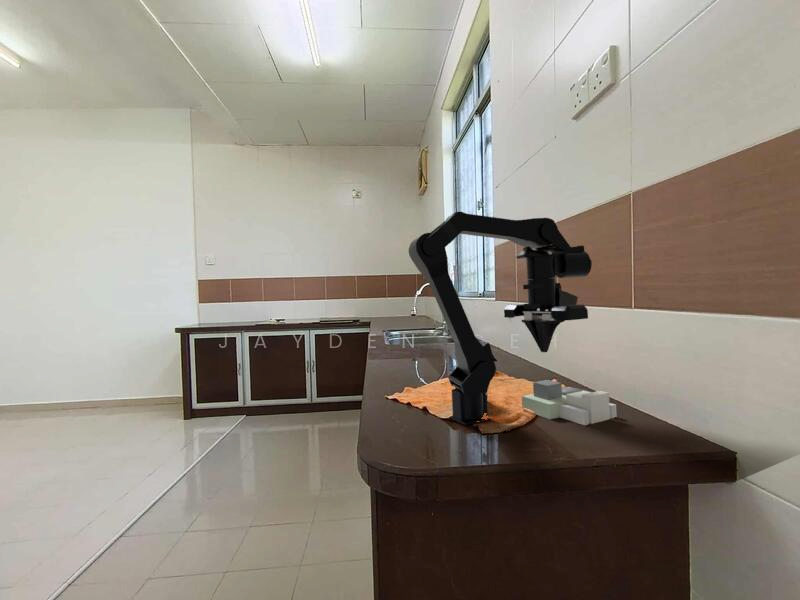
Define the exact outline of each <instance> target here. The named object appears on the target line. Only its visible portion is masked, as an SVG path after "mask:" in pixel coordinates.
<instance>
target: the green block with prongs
mask: <svg viewBox="0 0 800 600" xmlns="http://www.w3.org/2000/svg"><path fill="white" fill-rule="evenodd" d="M532 385H533V393H530V394H526V395H521V408H522V407H523V408H527V409H530V410H532V411H534V412H535V413H536V414H535V415H536V416H538V417H539V416H540V417H542V418H544V419H548V420H554V419H558V418H561V419H564V420H566V421H570V422H573V423H575V424H580V425H582V426H587V425H589V424H590V423H589V411H586V410H583V409H579V408H576V407H572V406H569V405H566V394H571V393H575V392H580V391H586V392H589V391H587V390H584V389H582V388H577V387H571V386H566V387H563V386H562V382H558V381H553V380H550V379H544V380H539V381H534V382H533V383H532ZM590 392H591V393H592V391H590ZM609 407H610V419H615V417H616V418H617V404H615V403H611V402H609Z"/></svg>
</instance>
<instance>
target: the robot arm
mask: <svg viewBox="0 0 800 600" xmlns="http://www.w3.org/2000/svg"><path fill="white" fill-rule="evenodd" d="M459 235H466V236H476V237H483V238H485V237H486V238H492V239H499V240H500V239H501V240H507V241H510V242H513V243H514V244H516V245H519V246H522V247H523V249H522V250H521V251H520V252H519V253H518V254H517V255H516V259H518V260H522V259H523V260H525V259H526V278H527V279H526V280H527V284H523V285H522V289H523V290H527V303H522V304H509V305H508V304H507V305H506V306H505V308H504V310H503V312H504V313H503V314H504V315H503V316H504V318H507V319H509V318H510V319H514V318H515V317H523V319H521V323H524V325H525V327H526V328H527V330H528V331H529V332H530V334H531V336H532V337H533V339H534V342H535V343H536V345H537V347H538V349H539V350H540V352H541V353H547V352H548V351H549V349H550V345H551V342H552V339H553V336H554V333H555V331H556V329H557V327H558V326H559V325H560V324H562V323H564V322H565V321H576V320H577V321H578V320H587V319H588V318H589V311H588V308H587V306H586V305H584V304H578V300H579V297H578V296H576V295H574V294H573V293H569V292H568V291H564V290H562V285H561V283H560V282H556V281H557V279H556V277H557V278H558V279H569V278H585V277H587V276H589V275H590V272H591V269H592V264H593V263H592V262H593V261H592V259H591V257H590V255H589V253H588V252H586V251H585V246H584V245H576V246H571V245H570V244H569V243H568V241H567V239H566V238H565V237H564V235H563V234H562V233H561V232H560V230H559V228H558V226H557V223H556V222H555V220H554V219H553V218H550V217H535V218H526V219H509V218H502V217H496V216H488V215H481V214H479V215H478V214H472V213H466V212H463V211H455V212H454V213H452V214H451V215H449V216H448V217H446V218H445V220H444V221H443V222H442V223H440V224H439V225H438V226H436V227H435V228H434V229H433V230H431V231H430V232H426V233H423V234H421V235H420V236H418V237H416V238H415V239H412V241H411V242H410V244H409V247H408V255H409V258H410V259H411V261H412V262H413V264H414V266H415V267H416V269H417V270H418V271H419V272H420V274H421V275H422V276H423V277H424V278H425V280H426V281H427V282H428V284H429V286H430V289H431V291H432V293H433V295H434V298H435V300H436V303H437V305H438V307H439V310H440V312H441V314H442V317H443V318H444V320H445V321H444V322H445V323H446V324H445V325H446V326H447V328H448V330H449V333H450V335H451V337H452V339H453V341H454V342H453V343H454V354H455V360H456V361H457V364H458V366H457V367H456V366H455V368H454V369H453V370H452V371H451V373H450V374H449V375H448V376H447V379H448V381H449V385H451V387H454V388H453V389H451V405H452V406H451V407H452V414H453V416H451V418H450V419H452V420H454V421H456V422H458V423H460V424H462V425H464V426H469V425H473V424H476V423H475V422H477V421H482V420H485V419H481V418H482V417H483V415H484V413H488V414H489V411H488V409H489V408H488V398H487V395H486V393H488V391H489V387H490V383H491V381H492V379H493V378H494V377H495V374H496V373H497V366H496V362H498V359H497V358H495V356H494V354H493V352H492V351H493V350H492V348H491V345H490V343H489V342H487V341H482V340H478V338H477V337H476V335H475V333H474V331H473V329H472V326H471V323H470V321H469V319H468V317H467V314H466V312H465V309H464V306H463V305H462V302H461V300H460V298H459V296H458V293H457V289H455V286H454V283H453V281H452V278H451V275H450V272H449V263H448V260H449V259H448V255H447V251H446V247H447V246H448V245H449V244H451V243H452V242H453V241H454V240H456V238H457V237H458V236H459ZM487 419H489V418H487Z"/></svg>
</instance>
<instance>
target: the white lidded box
mask: <svg viewBox="0 0 800 600" xmlns="http://www.w3.org/2000/svg"><path fill="white" fill-rule="evenodd" d="M586 391H587V390H584V391H580V392H575V393H571V394H566V405H569V406H572V407H576V408H579V409H583V410H586V411H589V424H591V425H592V424H595V423H596V424H597V423H601V422H604V421H608V420H611V418H610V407H609V403H610V394H609V393H610V392H607V391H602V390H597V391H593V392H592V391H588V392H586ZM591 392H592V393H591Z"/></svg>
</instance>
